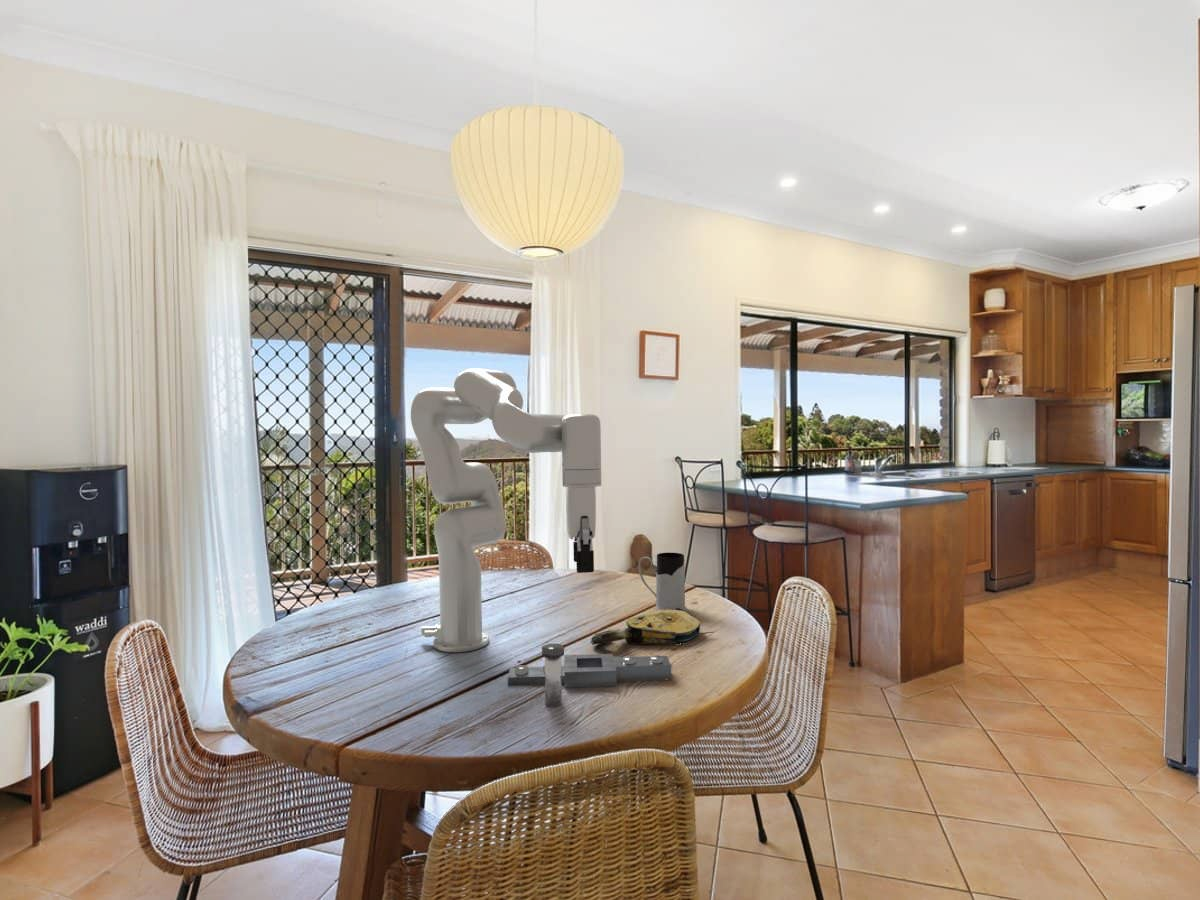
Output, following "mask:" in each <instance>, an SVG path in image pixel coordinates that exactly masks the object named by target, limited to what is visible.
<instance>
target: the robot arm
mask: <svg viewBox="0 0 1200 900" xmlns="http://www.w3.org/2000/svg"><path fill="white" fill-rule="evenodd" d="M523 406H524V399H523V395H522V394H521V391H519V390H518V389H517V384H516V381H515V380H514V378H513V377H512V376H511V375H510V374H508V373H507V372H505V371H503V370H496V369H495V370H494V369H486V368H468V369H466V370H465V369H464V371H462V372H460V373H459V374H458V375H457V376H456V378H455V380H454V383H453V387H452V388H451V387H429V388H425V389H422V390H421V391H419V392H418V393H417V394H416V395H415V397H414V398H413V400H412V402H411V406H410V423H411V428H412V430H413V433H414V434H415V437H416V439H417V441H418V444H419V446H420V448H421V452H422V456H423V460H424V465H425V470H426V474H427V478H428V482H429V486H430V490H431V493H432V496H433V498H434V500H435V501H436V502H437V503H440V504H443V505H452V504H453V505H454V504H461V503H470V504H471V506H463V507H455V508H451V509H447V510H445V511H443V512H441V513H440V514H439V515H438V516H437V517H436V519H435V521H434V525H433V534H434V540H435V543H436V544H435V545H436V548H437V556H438V570H439V571H438V573H439V574H438V578H439V582H438V583H439V584H438V585H439V624H435V626H430V625H422V626H421V635H422V636H424V638H431V637H433V638H434V639H433V648H435V649H436V650H438V651H439V652H445V653H464V652H472V651H475V650H478V649H481V648H483V647H485V646H486V645H487V644H488V643H489V641H490V637H489V634H488V633H487V632H484V631H483V616H482V615H483V613H482V612H483V607H482V606H483V603H482V602H483V601H482V599H483V598H482V597H483V596H482V567H481V562H480V560H479V558H478V557H477V555H476V553H475V551H474V548H476V547H481V546H485V545H491V544H494V543H497V542H499V541H500V540H502V539H503V537H504V535H505V533H506V529H507V522H506V521H507V520H506V515H505V511H504V507H503V503H502V499H501V495H500V491H499V487H498V483H497V479H496V476H495V474H494V473H493V471H492V470H491V468H490V467H489V466H487V464H484V463H482V462H476V461H475V462H472V461H470V462H465V461H464V460H463V458H462V455H461V451H460V446H459V443H458V441H457V439H456V438H455V436H453V434H452V433H451V432H450V431H449V430H448V429H447V428H446V426H445V425H446V424H447V425H474V424H479V423H481V422H483V421H485V420H487V419H489V420H491V424H492V427H493V430H494V431H495V433H496V435H497V437H499V438H500V439H501V440H503V441H504V442H505V443H507V444H508V445H510V446H512V447H514V448H515V449H517V450H518V451H521V452H524V453H530V454H536V453H537V454H538V453H561V470H562V471H561V472H562V474H561V475H562V478H561V479H562V480H561V481H562V487H563V488H567V501H566V503H567V535H568V538H569V539H570V540H573V542H572V543H573V545H572V547H573V561H574V563H576V572H577V573H578V574H584V573H585V574H586V573H593V572H594V571H595V560H594V559H595V557H594V556H595V555H594V552H595V551H594V548H593V539H594V538H595V537H596V525H597V518H596V516H597V504H596V503H597V502H596V501H597V499H596V498H597V497H596V494H597V493H596V490H597V488H596V487H601V486H602V448H601V447H602V442H601V441H602V439H601V438H602V436H601V434H602V431H601V428H602V427H601V420H600V418H599V416H598V415H596V414H590V413H589V414H585V413H578V414H577V413H575V414H568V415H566V414H565V415H564V414H547V413H546V414H544V413H542V414H541V413H530V412H527V411H524V410H523Z"/></svg>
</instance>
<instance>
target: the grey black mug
mask: <svg viewBox="0 0 1200 900" xmlns="http://www.w3.org/2000/svg"><path fill="white" fill-rule="evenodd" d="M643 559H647V560H649V562H650V565H651V572H652V573H653V574H655V575H656V576H655V579H656V580H655V581H656V582H655V584H656V587H655V589H656V592H655V591H654V590H653V588H651V587H650V586H649V585H648V583H647V582H646V581H645V579H644V577H643V573H642V570H641V569H642V568H641V562H642V560H643ZM685 568H686V565H685V555H684V554H682V553H678V552H659V553H657V554H656V571H655V570H654V562H653V560H652V559H651V558H650V557H649V556H643V557H641V558H640V559H639V561H638V572H639V576H640V579H641V581H642V583H643V584H644V586H646V588H647V589H648V590H649V591H650V592H651V593H652V594H653V595H654V597H655V599H656V602H655V603H656V604H655V607H654V611H657V610H676V608H680V609H683V610H686V611H688V610H687V606H686V595H685V594H686V584H685V583H686V580H685V579H686V577H685V576H686V572H685V571H686V569H685Z"/></svg>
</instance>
